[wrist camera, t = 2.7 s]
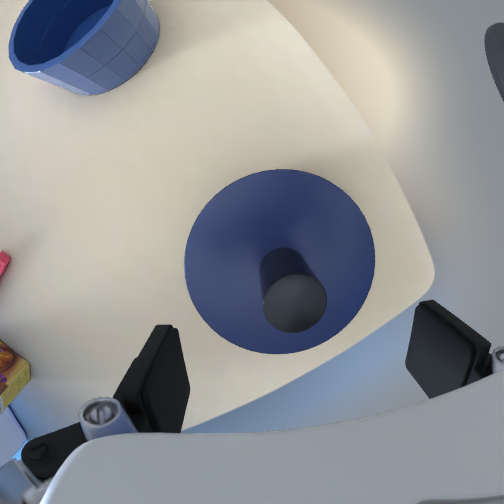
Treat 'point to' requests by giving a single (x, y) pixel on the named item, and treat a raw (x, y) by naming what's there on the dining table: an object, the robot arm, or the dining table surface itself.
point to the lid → (279, 261)
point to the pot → (84, 42)
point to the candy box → (11, 375)
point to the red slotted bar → (3, 262)
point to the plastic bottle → (10, 436)
